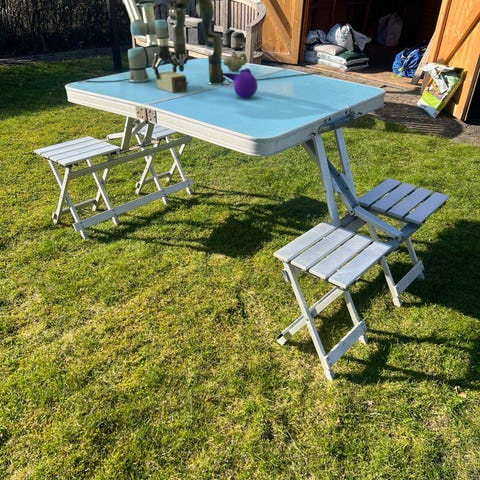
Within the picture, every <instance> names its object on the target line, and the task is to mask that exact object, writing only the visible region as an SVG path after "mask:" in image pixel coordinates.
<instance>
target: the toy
mask: <svg viewBox="0 0 480 480" xmlns="http://www.w3.org/2000/svg"><path fill="white" fill-rule="evenodd" d="M222 75H223V77H225V78H227V79H228V80H231V81H232V82H234V83H233V90H234V92H235V94H236V95H237V96H238V97H239V98H242V99H250V98H252V97H253V96H254V95H255V94H256V92H257V91H258V80H256V79H257V78H256V77H255V75H254V74H252V71H251V69H250V68H248V67H246V68H243V69H240V70H239V73H233V72H223V73H222Z"/></svg>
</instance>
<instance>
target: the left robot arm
mask: <svg viewBox="0 0 480 480" xmlns="http://www.w3.org/2000/svg"><path fill="white" fill-rule="evenodd" d="M121 2H122V4H123V6H124V7H125V9H126V11H127V13H128V14H127V15H128V17H129V20H130V23H131V24H130V33H131V35H132V36H134V37H141V36H145V39H146V40H145V41H146V45H145V46H144V47H145V48H144V47H143V46H137V47H132V48H130V49H127V58H128V64H129V65H128V66H129V76H128V78H124V79H119V80H117V79H116V80H86V79H85V80H84V79H82V80H79V81H78V82H79V83H78V84H80V83H81V82H86V83H87V82H88V83H115V82H117V83H118V82H125V81H128V82H129V83H133V84H141V83H148V82H150V76H149V74H148V71H147V66H151V69H153V70H154V75H155V79H156V80H157V79H158V80H159V73H160V71H159V67H160V66H161V65H163V64H164V63H165V61H168V62H169V63H170V64H171V65H172V72H175V73H178V72H177V67H179V65H177V64H175V62H174V61H173V60H172V58H171V57H173V56H174V53H175V52H173V51H170V45H169V33H168V23H167V20H166V19H156V17H155V10H154V7H155V5H156V3H157V0H121ZM137 4H138V5H137ZM138 7H139V8H140V9H141V13H140V10H139V8H138ZM141 14H142V16H141Z"/></svg>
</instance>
